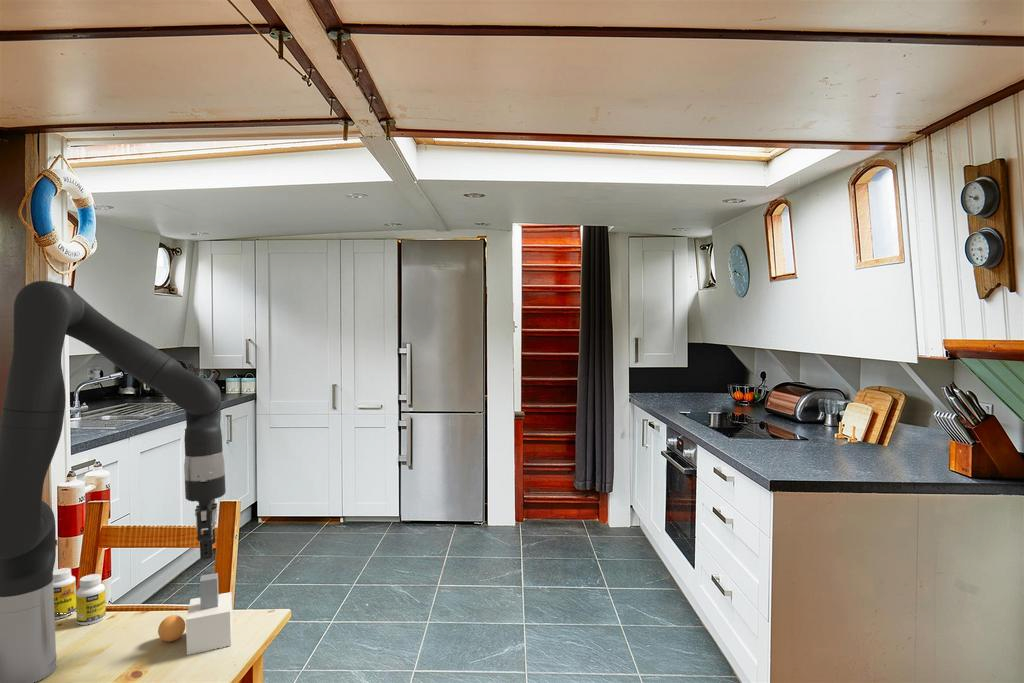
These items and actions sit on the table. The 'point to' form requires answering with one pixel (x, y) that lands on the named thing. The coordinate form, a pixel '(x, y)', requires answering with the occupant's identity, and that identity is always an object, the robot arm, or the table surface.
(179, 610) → the table surface
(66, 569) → the supplement bottle
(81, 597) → the supplement bottle
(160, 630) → the ball
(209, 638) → the white block
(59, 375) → the robot arm
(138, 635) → the table surface
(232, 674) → the table surface
